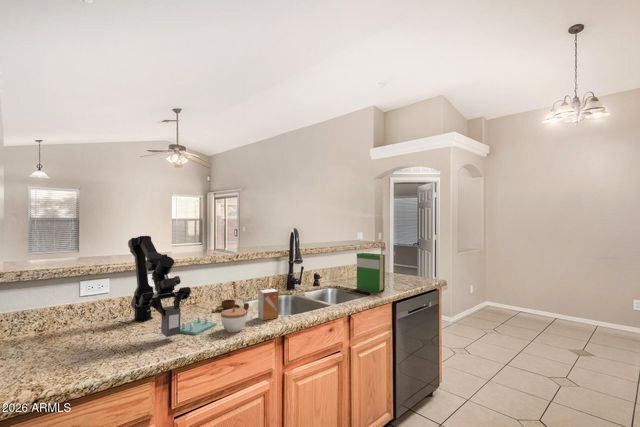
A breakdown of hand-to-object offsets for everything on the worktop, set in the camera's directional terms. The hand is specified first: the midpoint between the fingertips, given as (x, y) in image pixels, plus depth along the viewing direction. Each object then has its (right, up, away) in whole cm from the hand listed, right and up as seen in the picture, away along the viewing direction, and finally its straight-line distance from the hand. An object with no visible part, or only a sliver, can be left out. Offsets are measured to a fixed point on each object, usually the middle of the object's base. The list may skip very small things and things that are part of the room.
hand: (171, 314), depth 127 cm
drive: (0, -8, 0) cm, 8 cm away
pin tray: (+4, -10, +13) cm, 17 cm away
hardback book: (+93, -12, +92) cm, 132 cm away
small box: (+34, -11, +29) cm, 46 cm away
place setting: (+12, -11, +39) cm, 42 cm away
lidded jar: (+22, -11, +12) cm, 27 cm away
